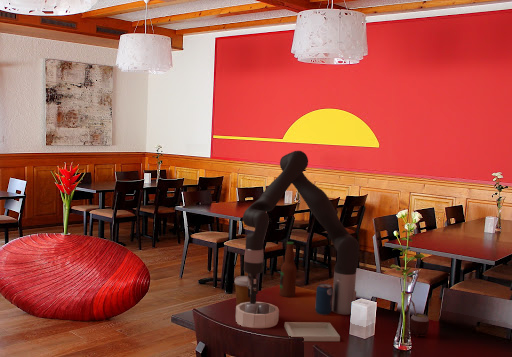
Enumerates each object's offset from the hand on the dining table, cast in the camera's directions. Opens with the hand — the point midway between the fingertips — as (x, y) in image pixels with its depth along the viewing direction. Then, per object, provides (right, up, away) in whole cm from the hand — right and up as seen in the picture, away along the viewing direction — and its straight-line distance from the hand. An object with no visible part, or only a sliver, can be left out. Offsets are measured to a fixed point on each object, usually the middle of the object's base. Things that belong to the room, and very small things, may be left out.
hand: (251, 300), depth 226 cm
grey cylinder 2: (+4, -8, +1) cm, 9 cm away
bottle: (+16, -6, +40) cm, 44 cm away
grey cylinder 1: (-1, -8, +1) cm, 8 cm away
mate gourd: (+64, -13, -5) cm, 66 cm away
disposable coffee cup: (-3, -7, +20) cm, 22 cm away
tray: (+23, -11, -10) cm, 27 cm away
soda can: (+30, -9, +17) cm, 36 cm away
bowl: (+2, -9, +1) cm, 9 cm away
